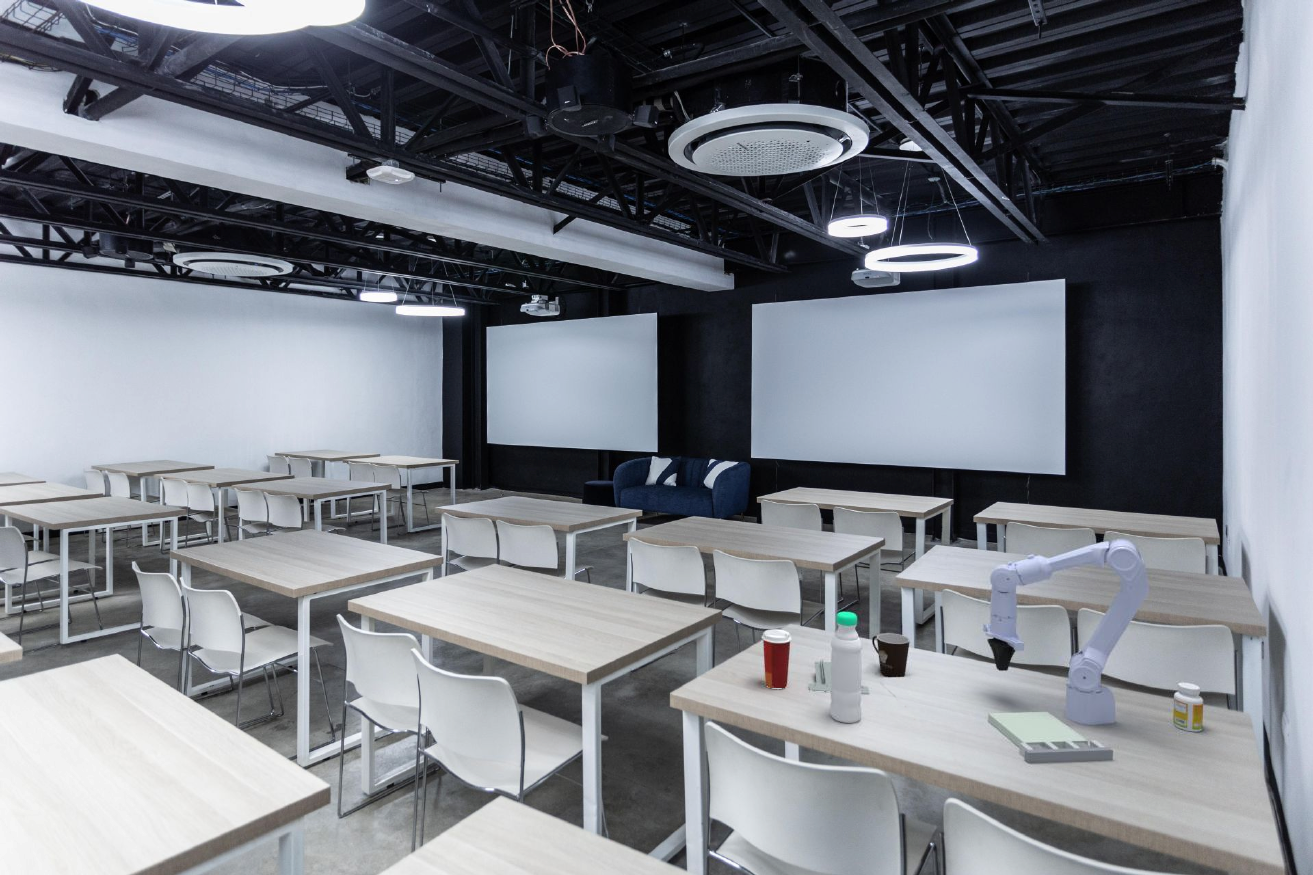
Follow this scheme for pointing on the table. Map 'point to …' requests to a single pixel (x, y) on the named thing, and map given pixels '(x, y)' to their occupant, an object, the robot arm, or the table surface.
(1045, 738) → the door
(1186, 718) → the supplement bottle
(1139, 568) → the robot arm
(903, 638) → the coffee mug
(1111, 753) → the jig board
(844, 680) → the water bottle
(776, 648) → the paper cup
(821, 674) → the metal bracket
